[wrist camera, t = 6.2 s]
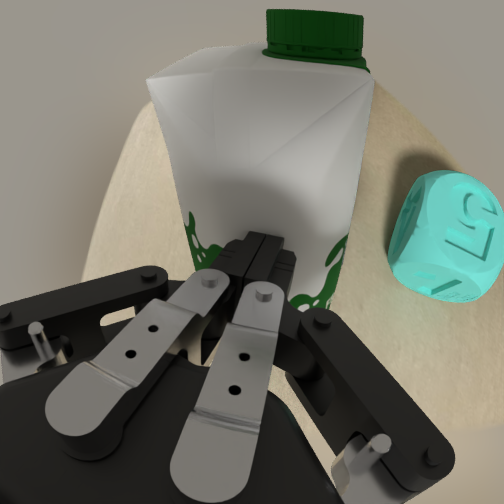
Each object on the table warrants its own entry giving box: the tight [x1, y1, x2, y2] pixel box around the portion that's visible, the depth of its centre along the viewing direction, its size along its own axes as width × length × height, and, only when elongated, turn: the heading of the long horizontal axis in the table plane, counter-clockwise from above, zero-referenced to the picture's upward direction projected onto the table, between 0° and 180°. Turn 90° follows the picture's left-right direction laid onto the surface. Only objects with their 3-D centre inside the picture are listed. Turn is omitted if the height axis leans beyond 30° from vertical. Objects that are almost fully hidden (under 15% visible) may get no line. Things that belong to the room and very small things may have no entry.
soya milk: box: [146, 9, 375, 312], centre depth 17 cm, size 9×9×20 cm
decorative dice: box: [388, 170, 504, 302], centre depth 22 cm, size 8×8×8 cm
